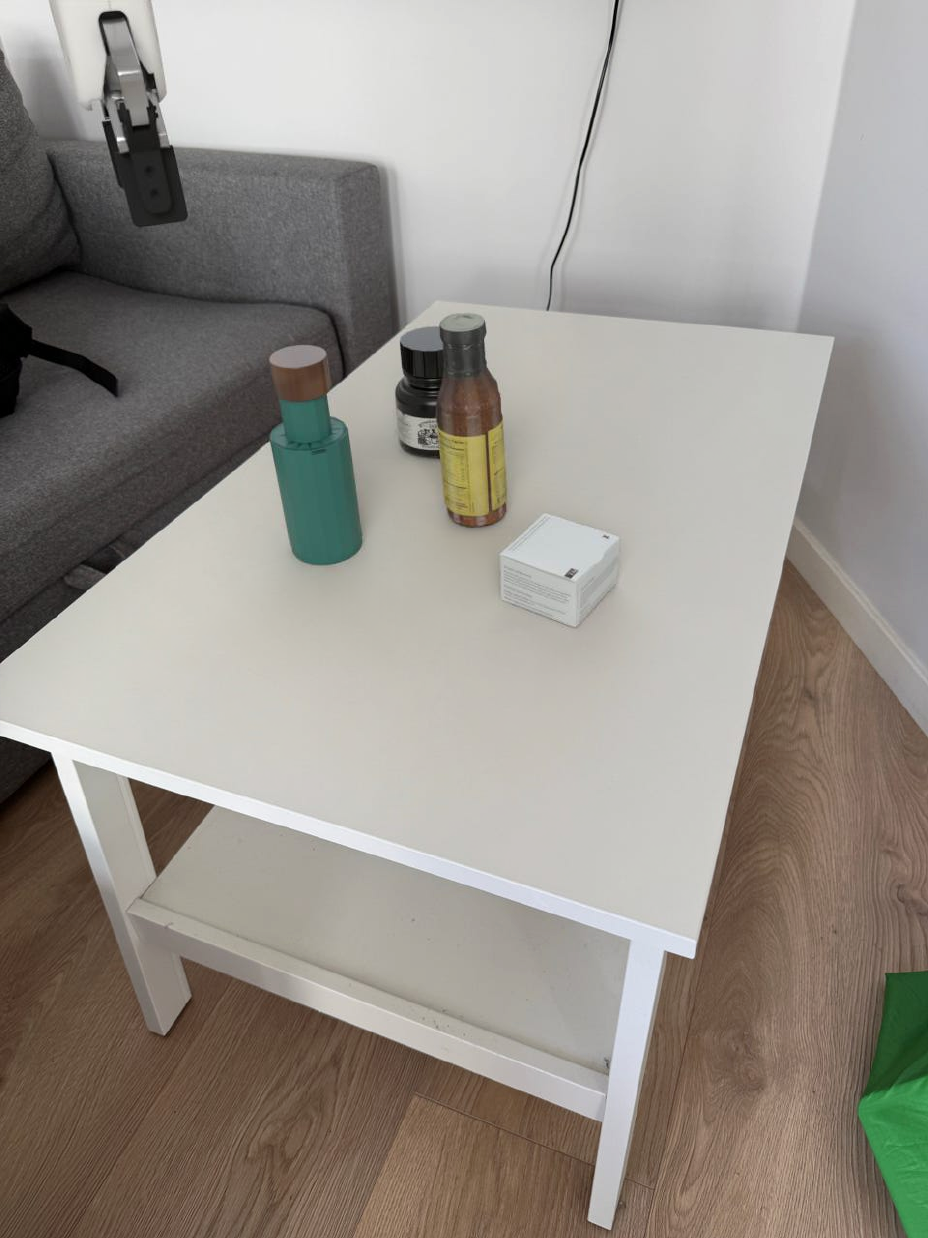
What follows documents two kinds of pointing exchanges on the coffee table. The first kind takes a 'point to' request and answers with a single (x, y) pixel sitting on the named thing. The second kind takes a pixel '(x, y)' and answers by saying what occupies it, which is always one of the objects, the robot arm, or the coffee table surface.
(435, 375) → the ink bottle
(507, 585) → the small box
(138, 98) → the robot arm
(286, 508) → the bottle
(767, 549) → the coffee table surface
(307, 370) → the stopper
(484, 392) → the sauce bottle
